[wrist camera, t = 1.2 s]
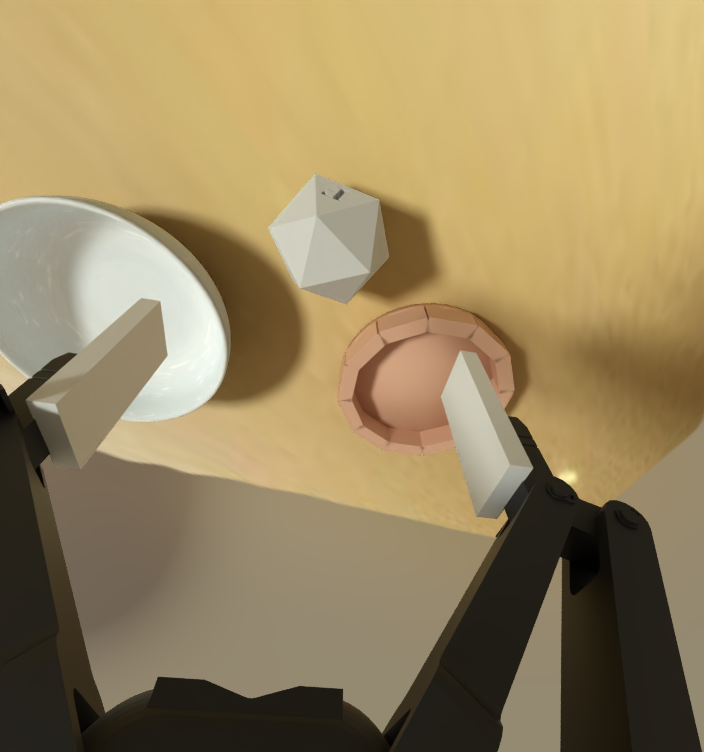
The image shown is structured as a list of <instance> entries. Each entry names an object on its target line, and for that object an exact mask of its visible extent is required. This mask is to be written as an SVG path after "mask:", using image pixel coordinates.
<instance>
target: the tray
mask: <svg viewBox="0 0 704 752" xmlns="http://www.w3.org/2000/svg"><path fill="white" fill-rule="evenodd" d="M460 350H462V351H468V352H474V353H477V355H478V357H479V359H480V361H481V363H482V365H483V367H484V369H485V371H486V373H487V375H488V377H489V379H490V381H491V383H492V385H493V388H494V390H495V392H496V394H497V396H498V398H499V400H500V402H501V404H502V406H503V408H504V409H505V407H506V405H507V404H508V402H509V400H510V398H511V397H512V395H513V393H514V390H515V389H514V381H513V373H512V365H511V357H510V354H509V352H508V350H507V349H506V347H505V346H504V344H503V342H502V341H501V340H500V339H499V338H498V337H497V336H496V335H495V334H494V333H493V332H492V331H491V329H490V328H489V327H488V326H487V325H486V324H485V323H484V322H483V321H482V320H480V319H479V318H478V317H476V316H475V315H473V314H471V313H469V312H468V311H465V310H463V309H460V308H458V307H454V306H450V305H445V304H436V303H423V304H415V305H409V306H405V307H401V308H398V309H395V310H392V311H390V312H387V313H385V314H384V315H382V316H380V317H378V318H376V319H375V320H373V321H372V322H370V323H369V324H368V325H367V326H366V327H364V328H363V329H362V330H361V331H360V332H359V333H358V334H357V336H356V337H355V338H354V339H353V341H352V342H351V344H350V345H349V347H348V349H347V350H346V352H345V355H344V359H343V362H342V368H341V375H340V380H339V385H338V398H337V400H338V404H339V406H340V408H341V410H342V412H343V414H344V416H345V418H346V420H347V422H348V424H349V426H350V428H351V430H352V431H353V432H354V433H355V434H357V435H359V436H360V437H362V438H363V439H365V440H367V441H368V442H370V443H372V444H373V445H375V446H376V447H378V448H380V449H381V450H383V449H384V451H390V452H397V453H405V454H412V455H420V456H421V455H422V454H423V455H428V454H432V453H437V452H441V451H445V450H450V449H454V448H456V446H455V443H454V439H453V436H452V433H451V429H450V426H449V422H448V419H447V416H446V412H445V409H444V406H443V402H442V399H441V395H442V393H443V390H444V388H445V386H446V383H447V381H448V378H449V376H450V374H451V371H452V369H453V366H454V364H455V362H456V359H457V357H458V354H459V352H460Z"/></svg>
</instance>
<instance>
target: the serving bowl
mask: <svg viewBox="0 0 704 752" xmlns="http://www.w3.org/2000/svg"><path fill="white" fill-rule="evenodd" d="M141 298H145V299H151V300H157V301H160V302H161V310H162V317H163V324H164V332H165V339H166V347H167V354H168V356H167V357H166V359H165V360H164V361H163V363H162V364H161V365H160V366H159V368H158V369H157V370H156V372H155V373H154V374H153V376H152V377H151V378H150V380H149V381H148V382H147V383H146V385H145V386H144V387H143V389H142V390H141V391H140V393H139V394H138V395H137V397H136V398H135V399H134V401H133V402H132V403H131V404H130V406H129V407H128V408H127V410H126V411H125V412H124V414H123V415H122V416H121V418H120V420H126V421H137V422H155V421H164V420H170V419H174V418H178V417H181V416H184V415H186V414H189V413H191V412H193V411H195V410H197V409H198V408H200V407H201V406H203V405H204V404H205V403H206V402H208V401H209V400H210V399H211V398H212V397H213V396H214V394H215V393H216V392H217V390H218V389H219V387H220V385H221V384H222V382H223V379H224V377H225V374H226V371H227V367H228V362H229V357H230V349H231V333H230V324H229V319H228V315H227V311H226V308H225V305H224V303H223V300H222V298H221V295H220V293H219V291H218V289H217V287H216V285H215V284H214V282H213V280H212V279H211V277H210V276H209V274H208V273H207V271H206V270H205V269H204V267H203V266H202V265H201V264H200V262H199V261H198V260H197V259H196V258H195V257H194V256H193V255H192V253H191V252H190V251H189V250H188V249H186V248H185V247H184V246H183V245H182V244H181V243H180V242H179V241H178V240H176V239H175V238H174V237H173V236H171V235H170V234H169V233H167V232H166V231H165V230H163V229H162V228H160V227H159V226H157V225H155V224H154V223H152V222H150V221H149V220H147V219H145V218H143V217H141V216H139V215H137V214H135V213H133V212H131V211H128V210H126V209H123V208H121V207H118V206H115V205H112V204H109V203H105V202H101V201H97V200H92V199H87V198H81V197H73V196H30V197H24V198H18V199H13V200H10V201H7V202H4V203H2V204H0V353H1V354H2V355H3V356H4V357H5V358H6V360H7V361H9V362H10V363H11V364H12V365H13V366H14V367H15V368H16V369H17V370H19V371H20V372H21V373H22V374H23V375H25V376H26V377H27V378H28V379H29V378H32V376H33V375H34V374H35V373H37V372H38V371H41V368H43V367H44V366H45V365H46V364H47V363H49V362H50V361H51V360H52V359H55V358H57V357H59V356H61V355H64V354H66V353H68V352H70V353H76V354H78V353H79V352H80V351H82V350H83V349H84V348H85V347H86V346H87V345H88V344H90V343H91V342H92V341H93V340H94V339H95V338H96V337H98V336H99V335H100V334H101V333H102V332H103V331H104V330H105V329H107V328H108V327H109V326H110V325H111V324H112V323H113V322H115V321H116V320H117V319H118V318H119V317H120V316H121V315H123V314H124V313H125V312H126V311H127V310H128V309H129V308H130V307H132V306H133V305H134V304H135V303H136V302H137V301H138V300H140V299H141Z"/></svg>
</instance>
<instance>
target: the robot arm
mask: <svg viewBox="0 0 704 752" xmlns="http://www.w3.org/2000/svg"><path fill="white" fill-rule="evenodd" d="M167 356H168V354H167V347H166V339H165V332H164V324H163V317H162V310H161V302H160V301H157V300H151V299H145V298H141V299H140V300H138V301H137V302H136V303H135V304H134V305H133V306H132V307H130V308H129V309H128V310H127V311H126V312H125V313H124V314H123V315H121V316H120V317H119V318H118V319H117V320H116V321H115V322H113V323H112V324H111V325H110V326H109V327H108V328H107V329H105V330H104V331H103V332H102V333H101V334H100V335H99V336H98V337H96V338H95V339H94V340H93V341H92V342H91V343H90V344H88V345H87V346H86V347H85V348H84V349H83V350H82V351H80V352H79V353H78V354H76V353H70V352H68V353H66V354H64V355H61V356H59V357H57V358H55V359H52V360H51V361H50V362H49V363H47V364H46V365H45V366H44V367H43V368H41V371H38V372H37V373H35V374H34V375H33V376H32V378H29V379H28V380H27V381H26V382H24V383H23V384H22V385H21V386H20V387H18V388H17V389H16V390H15V391H14V392H12V393H11V394H10V395H9V396H8V395H7V393H6V391H5V389H4V388H3V386H2V385H1V384H0V752H497V751H498V748H499V745H500V741H501V738H502V732H503V726H502V724H501V721H500V719H501V713H502V710H503V707H504V704H505V702H506V699H507V697H508V694H509V691H510V688H511V685H512V683H513V680H514V678H515V675H516V672H517V670H518V667H519V664H520V662H521V659H522V657H523V654H524V651H525V649H526V646H527V643H528V640H529V638H530V635H531V632H532V630H533V627H534V624H535V622H536V619H537V616H538V614H539V611H540V608H541V605H542V603H543V600H544V598H545V595H546V592H547V590H548V587H549V584H550V582H551V579H552V576H553V574H554V571H555V568H556V566H557V563H558V560H559V558H560V557H561V558H562V633H561V635H562V636H561V749H560V751H561V752H702V750H701V745H700V741H699V737H698V733H697V728H696V724H695V719H694V715H693V711H692V706H691V702H690V697H689V694H688V689H687V685H686V680H685V676H684V671H683V667H682V662H681V658H680V654H679V650H678V645H677V641H676V636H675V632H674V628H673V623H672V619H671V615H670V610H669V606H668V602H667V597H666V593H665V589H664V584H663V580H662V576H661V571H660V567H659V562H658V558H657V553H656V549H655V545H654V540H653V536H652V532H651V528H650V526H649V524H648V522H647V521H646V520H645V518H644V517H643V516H642V515H641V514H640V513H639V512H638V511H637V510H635V509H634V508H633V507H631V506H629V505H627V504H626V503H623V502H620V501H617V500H610V501H608V502H607V503H605V504H604V506H603V507H602V508H601V507H598V506H596V505H593V504H591V503H588V502H586V501H583V500H581V499H579V498H578V496H577V494H576V492H575V491H574V490H573V489H572V487H571V486H570V485H568V484H567V483H566V482H564V481H563V480H561V479H559V478H557V477H554V476H553V475H552V473H551V471H550V469H549V467H548V465H547V463H546V462H545V460H544V458H543V456H542V454H541V452H540V450H539V449H538V448H537V445H536V443H535V441H534V440H533V439H532V438H533V437H532V436H531V434H530V432H529V430H528V428H527V427H526V426H525V425H524V424H523V423H522V422H521V421H520V420H519V419H518V418H517V417H510V416H507V414H506V412H505V410H504V408H503V406H502V404H501V402H500V400H499V398H498V396H497V394H496V392H495V390H494V388H493V385H492V383H491V381H490V379H489V377H488V375H487V373H486V371H485V369H484V367H483V365H482V363H481V361H480V359H479V357H478V355H477V353H474V352H468V351H462V350H460V352H459V354H458V357H457V359H456V362H455V364H454V366H453V369H452V371H451V374H450V376H449V378H448V381H447V383H446V386H445V388H444V390H443V393H442V395H441V399H442V402H443V406H444V409H445V412H446V416H447V419H448V422H449V426H450V429H451V433H452V436H453V439H454V443H455V446H456V449H457V453H458V456H459V459H460V463H461V466H462V470H463V473H464V476H465V480H466V483H467V486H468V490H469V493H470V497H471V500H472V503H473V507H474V510H475V513H476V517H485V518H493V519H497V518H498V517H499V516H500V514H501V513H502V511H503V510H504V509H505V511H506V514H507V517H508V520H507V521H506V523H505V524H504V525H503V527H502V528H501V530H500V531H499V532H498V534H497V535H496V537H497V538H496V540H495V542H494V543H493V545H492V547H491V549H490V550H489V552H488V554H487V556H486V557H485V559H484V561H483V562H482V564H481V566H480V568H479V569H478V571H477V573H476V575H475V576H474V578H473V580H472V582H471V583H470V585H469V587H468V589H467V590H466V592H465V594H464V596H463V597H462V599H461V601H460V602H459V604H458V606H457V608H456V609H455V611H454V613H453V615H452V616H451V618H450V620H449V622H448V624H447V625H446V627H445V629H444V631H443V632H442V634H441V636H440V638H439V639H438V641H437V643H436V644H435V646H434V648H433V650H432V651H431V653H430V655H429V657H428V658H427V660H426V662H425V663H424V665H423V667H422V669H421V670H420V672H419V674H418V676H417V677H416V679H415V681H414V683H413V684H412V686H411V688H410V690H409V691H408V693H407V695H406V696H405V698H404V700H403V701H402V703H401V704H400V705H399V707H398V709H397V710H396V711H395V713H394V715H393V716H392V718H391V719H390V721H389V723H388V724H387V726H386V728H385V730H384V731H383V733H381V732H380V731H379V729H378V728H377V727H376V725H375V724H374V723H373V722H372V721H371V720H370V719H369V718H368V717H367V716H366V715H365V714H363V713H362V712H361V711H360V710H359V709H357V708H355V707H354V706H352V705H351V704H349V703H347V702H345V701H343V689H334V688H319V687H304V686H298V687H294V688H291V689H287V690H283V691H279V692H275V693H272V694H268V695H264V696H261V697H257V698H246V697H243V696H241V695H239V694H236V693H234V692H232V691H230V690H227V689H225V688H223V687H220V686H218V685H216V684H213V683H211V682H209V681H206V680H199V679H184V678H168V677H158V678H157V681H156V684H155V687H154V689H153V690H149V691H146V692H143V693H141V694H138V695H135V696H133V697H131V698H129V699H127V700H125V701H124V702H122V703H120V704H118V705H117V706H115V707H114V708H112V709H111V710H109V711H108V712H106V713H105V711H104V707H103V703H102V700H101V697H100V694H99V691H98V689H97V686H96V684H95V681H94V678H93V675H92V672H91V667H90V663H89V659H88V655H87V651H86V647H85V642H84V638H83V635H82V630H81V626H80V622H79V618H78V613H77V609H76V606H75V601H74V597H73V592H72V588H71V584H70V580H69V576H68V572H67V567H66V563H65V559H64V555H63V551H62V547H61V542H60V539H59V534H58V530H57V526H56V522H55V517H54V513H53V509H52V505H51V501H50V497H49V492H48V489H47V484H46V480H45V476H44V472H43V469H42V467H41V465H40V464H41V463H42V462H43V460H44V459H45V458H46V457H47V456H48V455H50V457H51V460H52V462H53V464H54V466H55V467H60V468H68V469H77V470H81V469H82V467H83V466H84V465H85V463H86V462H87V461H88V459H89V458H90V457H91V456H92V454H93V453H94V452H95V450H96V449H97V448H98V446H99V445H100V444H101V442H102V441H103V440H104V439H105V437H106V436H107V435H108V433H109V432H110V431H111V429H112V428H113V427H114V425H115V424H116V423H117V421H118V420H119V419H120V418H121V416H122V415H123V414H124V412H125V411H126V410H127V408H128V407H129V406H130V404H131V403H132V402H133V401H134V399H135V398H136V397H137V395H138V394H139V393H140V391H141V390H142V389H143V387H144V386H145V385H146V383H147V382H148V381H149V380H150V378H151V377H152V376H153V374H154V373H155V372H156V370H157V369H158V368H159V366H160V365H161V364H162V363H163V361H164V360H165V359H166V357H167Z"/></svg>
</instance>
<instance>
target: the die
mask: <svg viewBox="0 0 704 752" xmlns="http://www.w3.org/2000/svg"><path fill="white" fill-rule="evenodd" d="M268 229H269V231H270V233H271V236H272V238H273V240H274V242H275V244H276V246H277V248H278V250H279V252H280V254H281V256H282V259H283V261H284V263H285V265H286V267H287V269H288V271H289V273H290V275H291V277H292V280H293V281H294V282H295V283H296V284H297V285H298V287H299V288H300V289H303V290H306V291H309V292H312V293H315V294H318V295H321V296H324V297H327V298H330V299H333V300H335V301H338V302H341V303H344V304H347V303H348V302H349V301H350V300H351V299H352V298H353V297H354V296H355V294H356V293H357V292H358V291H359V290H360V289H361V288H362V287H363V286H364V285H365V284H366V282H367V281H368V280H369V279H370V278H371V277H372V276H373V275H374V274H375V273H376V272H377V270H378V269H379V268H380V267H381V266H382V265H383V264H384V263H385V262H386V261H387V260H388V258H389V252H388V247H387V241H386V235H385V229H384V223H383V218H382V212H381V206H380V200H379V199H377V198H374V197H372V196H369V195H367V194H364V193H362V192H359V191H357V190H354V189H352V188H349V187H347V186H344V185H342V184H340V183H337V182H335V181H332V180H330V179H327V178H325V177H322V176H320V175H317V174H314V175H313V177H312V178H311V179H310V180H309V181H308V182H307V183H306V185H305V186H304V187H303V188H302V189H301V190H300V192H299V193H298V194H297V195H296V196H295V197H294V198H293V200H292V201H291V202H290V203H289V204H288V205H287V207H286V208H285V209H284V210H283V211H282V212H281V214H280V215H279V216H278V217H277V218H276V219H275V220H274V222H273V223H272V224H271V225H270V226H269V227H268Z"/></svg>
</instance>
